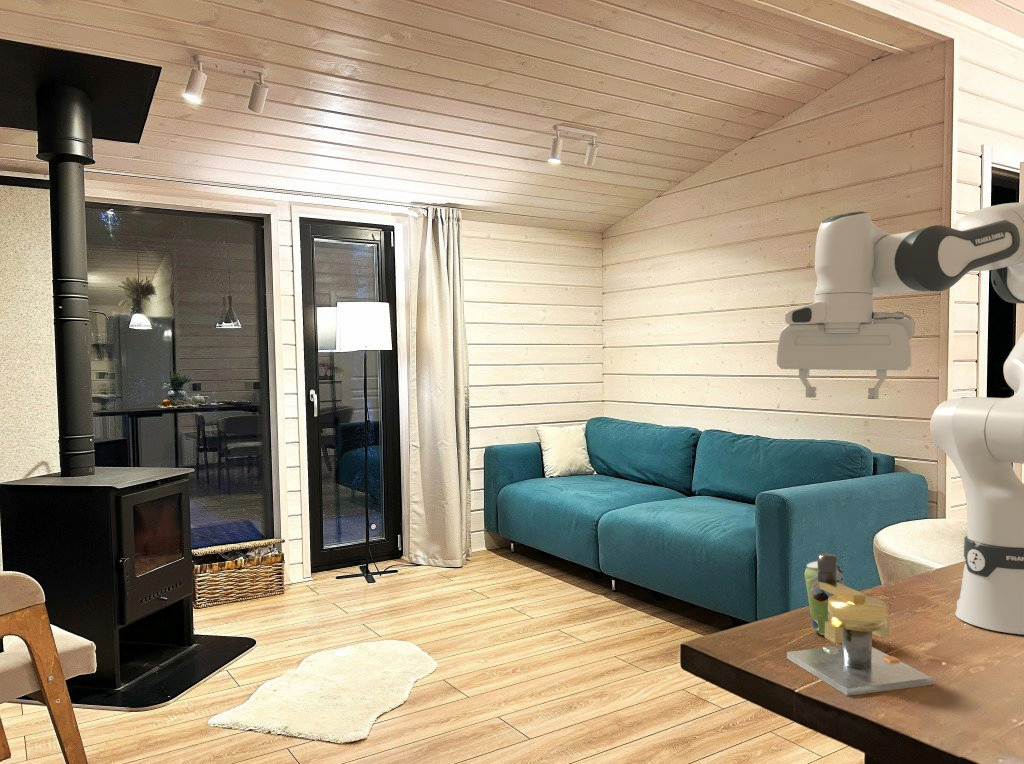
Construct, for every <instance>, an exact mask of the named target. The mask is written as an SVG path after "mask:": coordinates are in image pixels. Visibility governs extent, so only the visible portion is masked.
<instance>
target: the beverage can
mask: <svg viewBox="0 0 1024 764" xmlns="http://www.w3.org/2000/svg"><path fill="white" fill-rule="evenodd" d="M844 578H845V577H844V574H843V570H842V568H841V567H840V566H839V565H838V562H837V582H838V583H840V584H842V585H845V586H846V584H845V579H844ZM804 580H805V586H806V592H807V598H808V599H807V600H808V604H809V611H810V618H811V624H812V625H811V626H812V629H813V631H815V632H817V633H818V634H819V635H821V636H825V622H826V621H828V598H829V597H830V596H832V595H834V594H831V593H829V592H827V591H825V590H822V589H820V588H819V587H820V582H819V581H818V560H816V561H810V562H807V564H806V568H805V571H804Z"/></svg>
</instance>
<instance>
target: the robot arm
mask: <svg viewBox="0 0 1024 764" xmlns="http://www.w3.org/2000/svg"><path fill="white" fill-rule="evenodd" d="M871 218H872V217H871V214H870V213H869V212H866V211H859V210H858V211H853V212H847V213H843V214H842V213H841V214H838V215H833V216H829V217H827V218H824V220H823V221H822V222H821V223H820V225H819V228H818V229H817V234H816V239H815V249H814V250H815V251H814V255H815V256H814V272H815V274H816V287H815V290H814V296H813V298H814V299H813V300H814V301H813V303H810V304H807V305H806V304H805V305H803V306H799V307H797V308H793V309H791V310H788V311H787V312H785V314H784V321H785V324H787V325H786V326H784V327H783V328H782V330H781V332H780V333H779V336H778V343H777V349H776V365H777V366H778V367H779V368H780V369H781V370H798V378H799V380H800V381H801V382H802V384H803V385H804V386H803V387H805V398H817V386H812V385H811V383H810V381H809V379H808V377H809V376H810V372H811V371H810V370H819V371H820V370H821V371H823V370H824V371H825V370H826V371H827V370H831V371H834V370H835V371H836V370H838V371H841V370H842V371H876V377H877V378H879V379H878V381H877V383H876V384H875V385H874V387H868V388H867V389H868V390H867V392H868V395H867V399H868V400H879V398H880V388H881V387H882V386H883V384H884V382H885V381H886V379H887V377H888V376H887V375H888V371H907V370H909V369H910V368H911V367H912V365H913V364H912V362H913V361H912V360H913V359H912V357H913V356H912V348H911V347H912V346H911V341H910V340H912V339H913V337H914V336H915V329H916V327H915V326H916V325H915V324H916V323H915V320H914V318H913V317H911V316H910V315H908V314H906V313H905V312H904V311H903V312H902V311H895V312H883V311H881V312H879V311H877V312H874V295H875V296H876V295H877V296H880V295H881V296H882V295H892V294H895V295H896V294H905V293H916V292H944V291H946V290H948V289H950V288H952V287H953V286H954V285H955V284H957V283H958V282H959V281H960V280H961V279H962V278H963V277H964V276H966V274H968V273H969V272H984V271H991V272H990V275H991V276H990V280H991V284H992V287H993V289H994V291H995V292H996V294H997V295H998V297H1000V298H1001V299H1002V300H1003V301H1005V302H1006V303H1007V302H1008V303H1011V304H1024V202H1009V203H1001V204H996V205H991V206H986V207H984V208H980V209H976V210H974V211H972V212H969V213H967V214H966V215H964V216H962V217H961V218H959V219H958V220H956V222H955V223H954V225H953V227H950V226H945V225H941V224H936V225H932V226H927V227H924V228H923V227H922V228H919V229H917V230H911V231H906V232H900V233H893V234H890V233H889V232H886V231H884V230H883V229H881V228H880V227H878V226H877V225H876V224H875V223H874V221H873V220H872V219H871ZM1002 372H1003V376H1004V377H1003V378H1004V380H1005V382H1006V384H1007V385H1008V387H1010V389H1012V390H1013V391H1014V392H1015V394H1013V395H1012V396H1010V397H982V396H966V397H959V398H953V399H949V400H948V399H947V400H944V401H942V402H941V403H939V404H938V405H937V406H936V408H935V409H934V411H933V413H932V414H931V417H930V422H929V430H930V434H931V438H932V440H933V442H934V443H935V445H936V446H937V447H938V448H939V449H940V450H941V451H943V452H944V453H945V454H946V455H947V456H948V457H949V459H950V460H951V462H952V463H953V465H954V467H955V468H956V470H957V473H958V474H959V477H960V479H961V482H962V484H963V489H964V493H965V499H966V526H967V527H966V531H967V534H966V536H965V537H964V538H963V539H964V540H963V542H964V543H963V557H964V560H965V564H964V566H963V567H964V568H963V573H962V580H961V587H960V595H959V599H957V600H956V610H955V613H954V614H955V616H956V617H957V618H958V619H959V620H961V621H963V622H965V623H968V624H970V625H972V626H975V627H979V628H982V629H986V630H989V631H990V630H991V631H995V632H1002V633H1006V634H1007V633H1008V634H1014V635H1015V634H1017V635H1023V636H1024V482H1023V481H1021V480H1020V478H1019V477H1018V475H1017V474H1016V472H1015V470H1014V467H1013V465H1012V463H1014V464H1022V465H1024V331H1023V332H1022V333H1021V335H1020V336H1019V339H1018V340H1017V342H1016V343H1015V345H1014V347H1012V350H1011V351H1010V352H1009V355H1008V356H1007V358H1006V359H1005V361H1004V363H1003V371H1002Z"/></svg>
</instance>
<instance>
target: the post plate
mask: <svg viewBox="0 0 1024 764" xmlns="http://www.w3.org/2000/svg"><path fill="white" fill-rule="evenodd" d="M872 640H873V633H872V631H855V630H849V629H845V628H842V643H841V645H838V646H833V645H826V646H825V645H824V646H822V647H819V648H810V649H802V650H791V651H786V652H787V653H786V659H788V660H789V661H791V662H792V663H794V664H796V665H797V666H799V667H800V668H802V669H804V670H805V671H807V672H808V673H810V674H812V675H813V676H814V677H816V678H818V679H819V680H820V681H823V682H824V683H825V684H828V685H829V687H830V686H831V687H833V688H834V689H836V690H837V691H839V692H841V694H843V695H845V696H846V697H849V696H855V695H865V694H870V693H878V692H887V691H893V690H895V691H896V690H902V689H909V688H916V687H924V686H931V685H933V677H932V676H930V675H927V674H926V673H924V672H922V671H920V670H918V669H916V668H914V667H912V666H911V665H908V664H907V663H904V662H903V661H900V658H897V657H895V656H893V655H889V654H887V653H885V652H883V651H881V650H879V649H877V648H875V647H873V643H872V642H873V641H872Z"/></svg>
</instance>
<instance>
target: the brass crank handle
mask: <svg viewBox="0 0 1024 764" xmlns="http://www.w3.org/2000/svg"><path fill="white" fill-rule="evenodd" d="M817 561H818V581H819V582H820V587H819V588H820V589H822V590H825V591H827V592H829V593H831V594H834V595H832V596H830V597H829V598H828V621H826V622H825V635H824V638H825V639H827V640H828V641H830V642H832V643H834V644H840V643H841V644H842V628H845V629H849V630H855V631H872V635H875V636H878V637H879V638H882V639H885V638H886V639H888V638H890V621H889V620H888V603H886V602H885V601H884V600H882V599H880V598H877V597H873V596H869V595H866V594H865V593H863V592H861V591H859V590H856V589H854V588H852V587H849V586H847V585H846V584H845V585H842V584H840V583H838V582H837V563H838V556H837V554H834V553H828V552H823V553H822V552H821V553H818V554H817Z"/></svg>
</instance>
